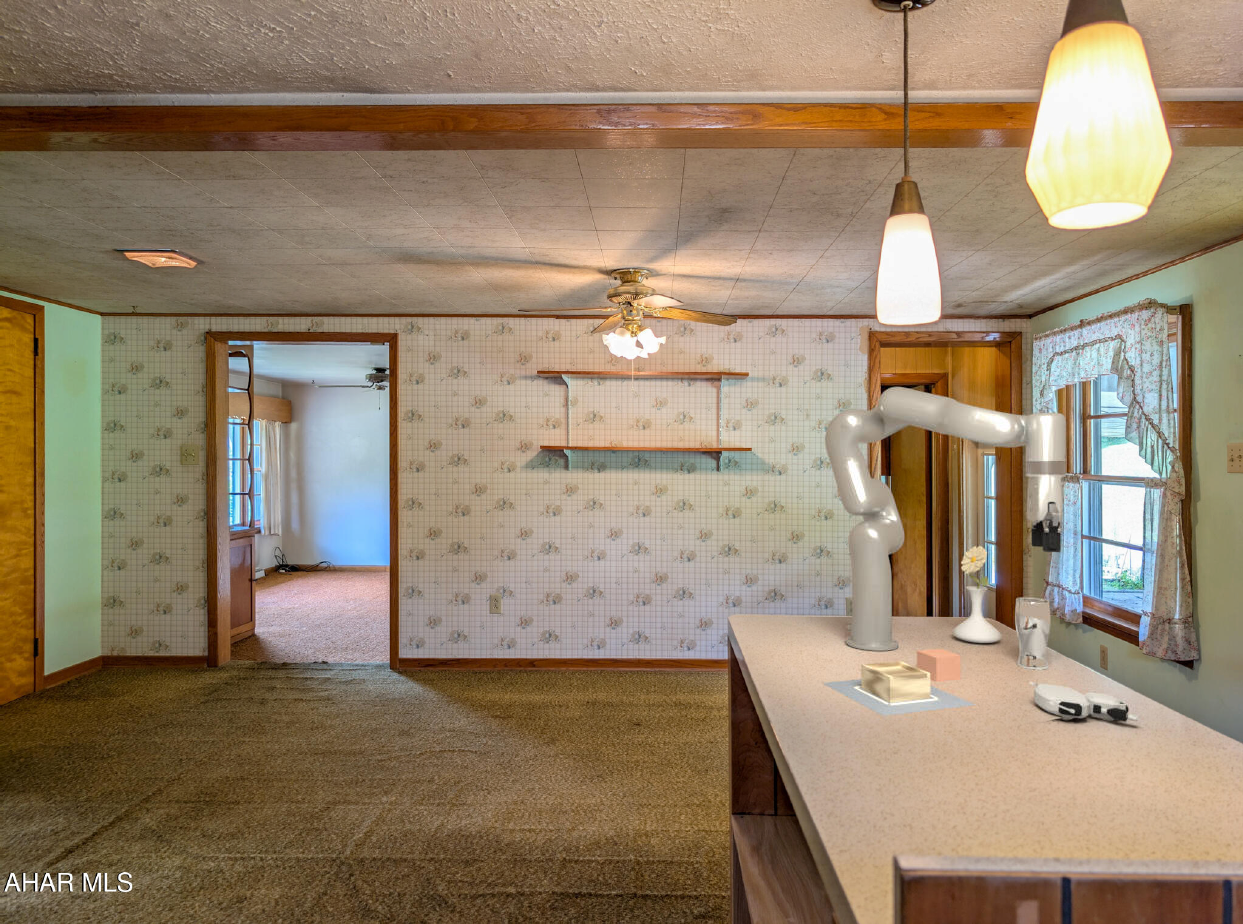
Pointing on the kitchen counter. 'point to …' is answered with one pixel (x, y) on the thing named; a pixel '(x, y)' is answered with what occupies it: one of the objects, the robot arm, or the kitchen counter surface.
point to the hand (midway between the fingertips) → (1045, 549)
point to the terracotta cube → (940, 664)
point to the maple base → (895, 681)
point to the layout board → (884, 708)
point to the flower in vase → (976, 602)
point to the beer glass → (1032, 631)
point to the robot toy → (1080, 703)
